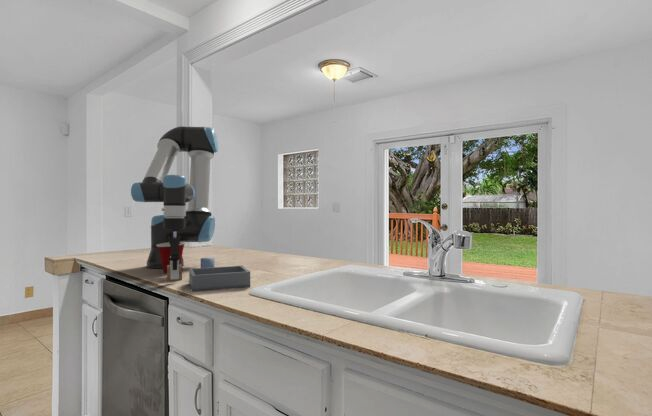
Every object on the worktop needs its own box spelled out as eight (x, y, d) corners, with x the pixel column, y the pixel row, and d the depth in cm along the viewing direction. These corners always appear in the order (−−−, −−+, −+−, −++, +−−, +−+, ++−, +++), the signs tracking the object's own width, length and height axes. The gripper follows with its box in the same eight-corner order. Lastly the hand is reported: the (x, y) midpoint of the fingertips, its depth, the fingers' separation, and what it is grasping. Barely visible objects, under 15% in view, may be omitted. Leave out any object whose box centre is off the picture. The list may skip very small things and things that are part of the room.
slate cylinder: (199, 276, 139) (200, 257, 139) (213, 275, 141) (213, 257, 141) (201, 278, 134) (201, 259, 134) (215, 277, 136) (215, 258, 136)
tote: (189, 283, 125) (189, 268, 125) (242, 279, 133) (242, 265, 133) (192, 291, 113) (192, 275, 113) (250, 286, 120) (250, 271, 120)
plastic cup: (151, 272, 147) (151, 242, 147) (177, 269, 155) (177, 240, 155) (163, 275, 139) (163, 244, 139) (190, 272, 148) (190, 242, 148)
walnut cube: (167, 278, 134) (167, 265, 134) (181, 277, 136) (181, 264, 136) (167, 281, 130) (167, 267, 130) (182, 280, 132) (182, 266, 132)
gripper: (163, 217, 143) (163, 271, 142) (163, 218, 120) (162, 282, 120) (184, 217, 146) (183, 270, 145) (187, 217, 123) (187, 281, 123)
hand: (174, 276), depth 132 cm, fingers open, 13 cm apart
